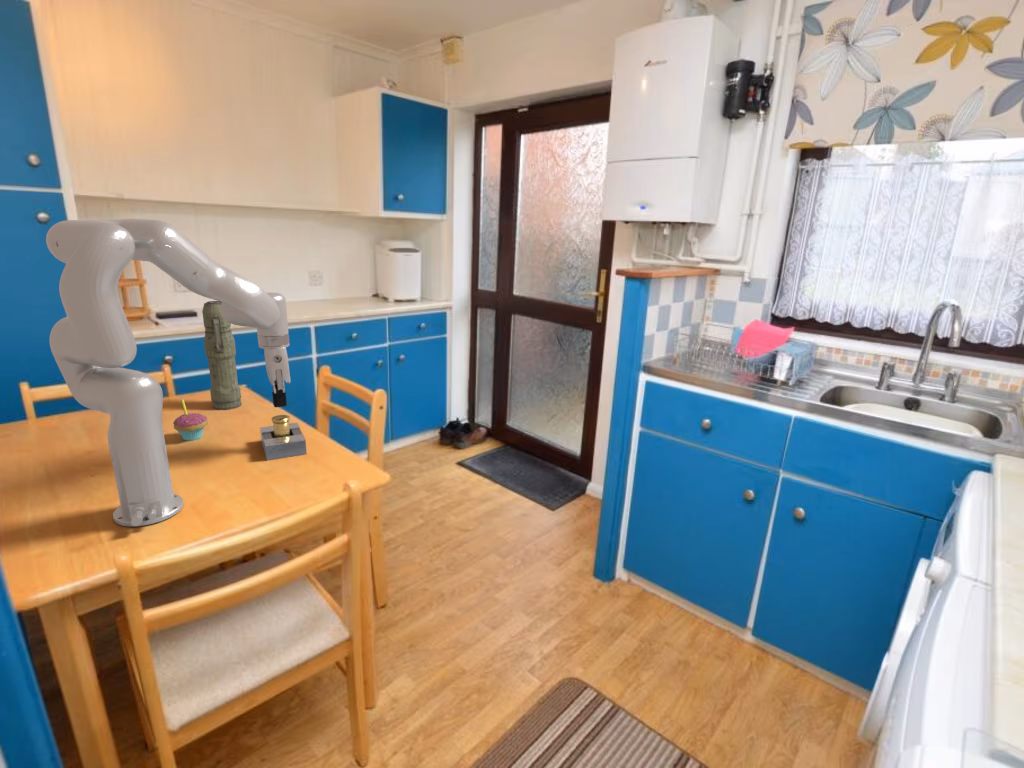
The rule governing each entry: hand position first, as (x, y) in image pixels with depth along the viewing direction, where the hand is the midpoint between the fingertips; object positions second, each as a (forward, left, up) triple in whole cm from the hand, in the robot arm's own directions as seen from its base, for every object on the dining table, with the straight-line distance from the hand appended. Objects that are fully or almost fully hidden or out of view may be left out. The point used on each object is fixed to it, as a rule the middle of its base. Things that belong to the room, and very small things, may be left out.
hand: (280, 405), depth 146 cm
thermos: (+44, +12, -13) cm, 47 cm away
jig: (0, 0, -12) cm, 12 cm away
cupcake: (+18, +22, -13) cm, 31 cm away
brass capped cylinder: (0, 0, -12) cm, 12 cm away
